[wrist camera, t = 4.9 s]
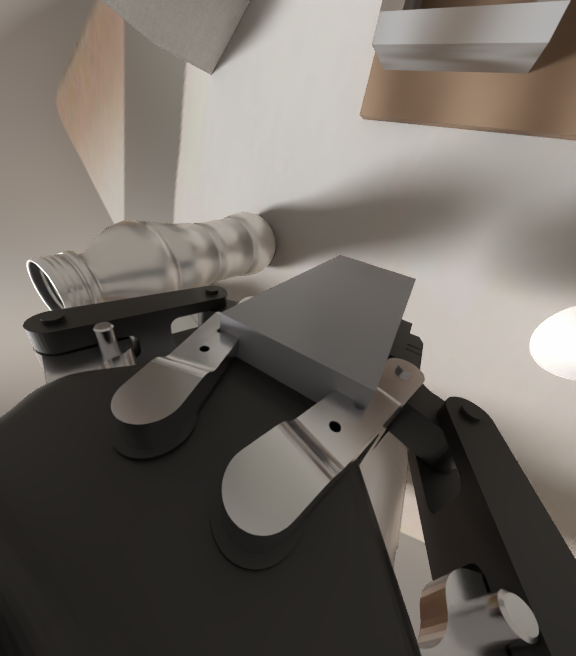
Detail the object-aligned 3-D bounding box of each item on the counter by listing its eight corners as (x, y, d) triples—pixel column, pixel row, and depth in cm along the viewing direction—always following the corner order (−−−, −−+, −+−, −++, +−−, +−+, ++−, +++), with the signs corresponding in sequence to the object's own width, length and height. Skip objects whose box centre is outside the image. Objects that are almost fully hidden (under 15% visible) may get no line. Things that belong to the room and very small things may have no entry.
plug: (415, 278, 13) (375, 391, 5) (383, 343, 15) (323, 487, 7) (340, 255, 14) (220, 312, 7) (322, 317, 17) (218, 413, 9)
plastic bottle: (230, 242, 30) (20, 285, 15) (256, 197, 26) (-5, 196, 11) (263, 279, 30) (84, 361, 15) (293, 241, 26) (85, 301, 11)
